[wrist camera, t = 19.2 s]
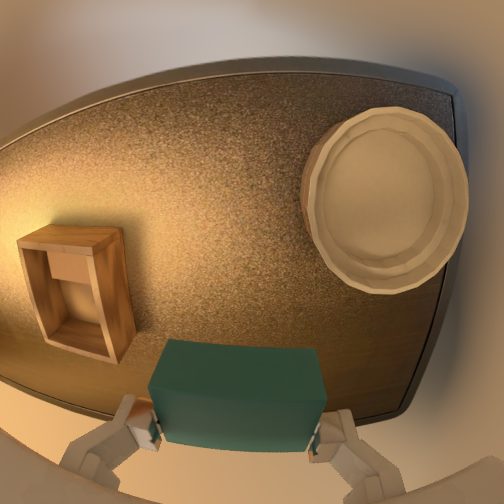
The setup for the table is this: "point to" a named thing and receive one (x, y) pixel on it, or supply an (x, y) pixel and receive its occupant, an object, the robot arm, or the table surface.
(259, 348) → the teal rectangular block
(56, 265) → the tan rectangular block
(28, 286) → the holder
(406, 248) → the bowl
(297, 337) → the table surface
